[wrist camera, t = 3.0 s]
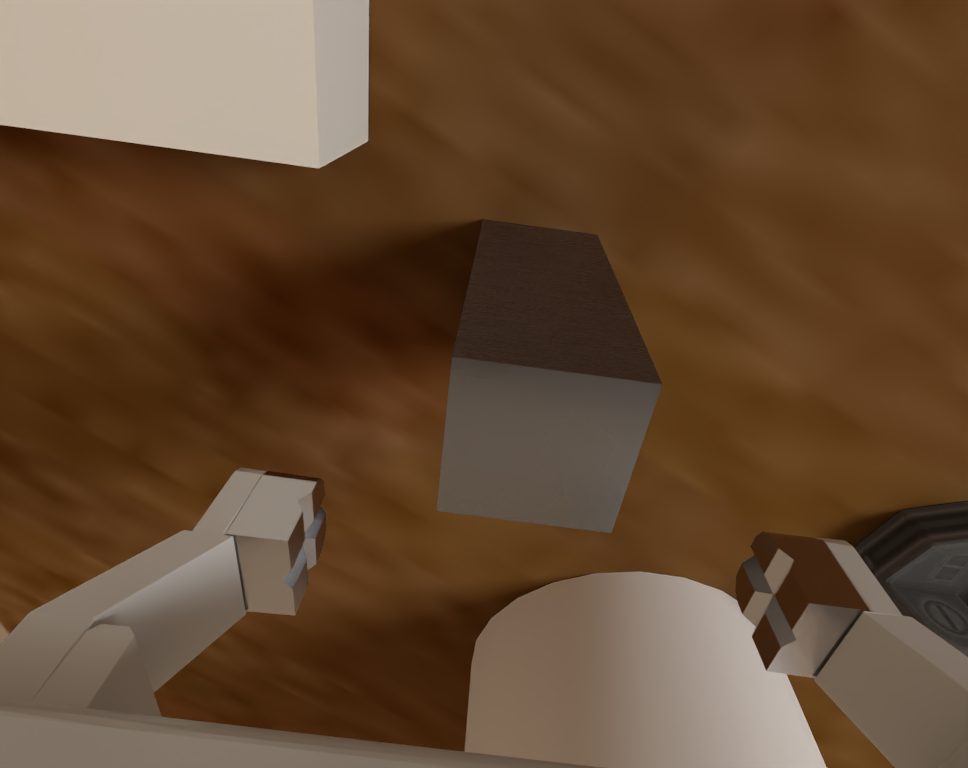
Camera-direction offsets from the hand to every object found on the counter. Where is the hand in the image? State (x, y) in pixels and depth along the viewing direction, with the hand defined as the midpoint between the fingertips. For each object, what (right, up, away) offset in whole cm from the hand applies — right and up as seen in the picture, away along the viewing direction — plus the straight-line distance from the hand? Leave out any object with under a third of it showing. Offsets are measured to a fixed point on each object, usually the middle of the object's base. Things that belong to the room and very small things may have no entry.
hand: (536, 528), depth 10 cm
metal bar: (+1, +6, +10) cm, 12 cm away
